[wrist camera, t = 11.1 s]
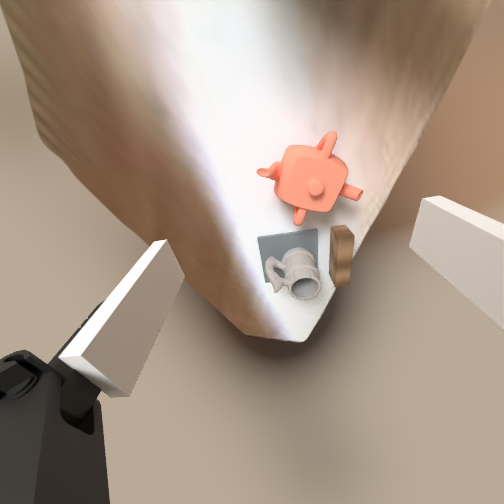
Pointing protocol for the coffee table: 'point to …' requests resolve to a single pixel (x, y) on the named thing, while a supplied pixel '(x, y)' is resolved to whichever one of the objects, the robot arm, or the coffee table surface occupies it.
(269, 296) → the coffee table surface
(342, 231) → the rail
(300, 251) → the mug
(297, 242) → the plate
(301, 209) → the teapot
